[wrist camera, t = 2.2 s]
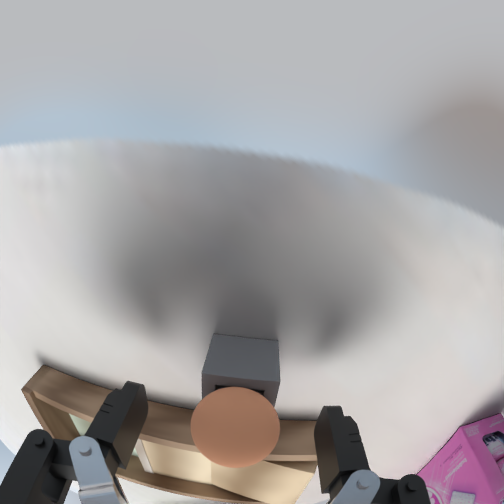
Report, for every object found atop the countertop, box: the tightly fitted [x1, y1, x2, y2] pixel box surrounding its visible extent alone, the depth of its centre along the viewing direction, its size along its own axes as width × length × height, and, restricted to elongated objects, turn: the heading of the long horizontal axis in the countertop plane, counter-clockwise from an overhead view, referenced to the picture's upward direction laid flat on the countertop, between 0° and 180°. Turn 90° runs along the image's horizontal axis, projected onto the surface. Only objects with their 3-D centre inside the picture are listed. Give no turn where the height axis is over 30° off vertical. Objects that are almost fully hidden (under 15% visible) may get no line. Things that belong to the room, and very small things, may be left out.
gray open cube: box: [202, 334, 280, 407], centre depth 13 cm, size 3×3×3 cm
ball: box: [191, 387, 280, 468], centre depth 10 cm, size 4×4×4 cm
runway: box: [21, 365, 318, 504], centre depth 16 cm, size 22×10×4 cm, turn 84°
